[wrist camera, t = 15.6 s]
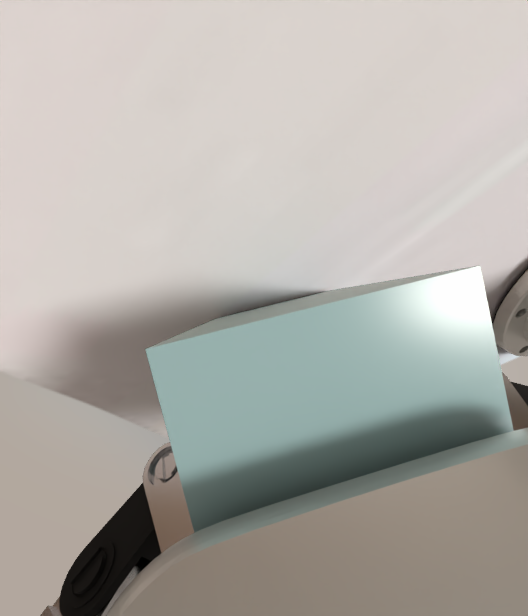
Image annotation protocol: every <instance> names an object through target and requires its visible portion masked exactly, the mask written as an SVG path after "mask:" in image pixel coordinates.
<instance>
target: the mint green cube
mask: <svg viewBox="0 0 528 616" xmlns="http://www.w3.org/2000/svg"><path fill="white" fill-rule="evenodd" d="M145 350H146V354H147V357H148V361H149V365H150V369H151V372H152V376H153V380H154V384H155V387H156V391H157V395H158V398H159V402H160V406H161V410H162V413H163V417H164V421H165V425H166V428H167V432H168V436H169V440H170V443H171V447H172V451H173V455H174V458H175V462H176V466H177V470H178V473H179V477H180V481H181V485H182V488H183V492H184V496H185V500H186V503H187V507H188V511H189V514H190V518H191V522H192V526H193V529H194V533H195V532H197V531H199V530H201V529H204V528H206V527H209V526H211V525H214V524H216V523H219V522H221V521H224V520H227V519H230V518H233V517H236V516H239V515H242V514H245V513H248V512H250V511H253V510H256V509H259V508H262V507H265V506H268V505H271V504H275V503H278V502H281V501H284V500H287V499H290V498H294V497H297V496H300V495H303V494H306V493H309V492H313V491H316V490H319V489H322V488H325V487H328V486H332V485H335V484H338V483H341V482H344V481H348V480H351V479H354V478H357V477H361V476H364V475H367V474H370V473H373V472H377V471H380V470H383V469H386V468H390V467H393V466H396V465H399V464H403V463H406V462H409V461H412V460H416V459H419V458H422V457H425V456H429V455H432V454H435V453H439V452H442V451H445V450H448V449H452V448H455V447H458V446H462V445H465V444H468V443H472V442H475V441H479V440H482V439H486V438H489V437H493V436H496V435H500V434H504V433H507V432H511V431H514V430H513V425H512V421H511V416H510V411H509V406H508V401H507V396H506V391H505V386H504V381H503V376H502V371H501V366H500V361H499V356H498V351H497V346H496V341H495V336H494V331H493V326H492V321H491V316H490V312H489V307H488V302H487V297H486V292H485V287H484V282H483V277H482V272H481V267H480V266H474V267H468V268H462V269H456V270H450V271H444V272H438V273H432V274H426V275H420V276H414V277H408V278H402V279H396V280H390V281H384V282H378V283H372V284H366V285H360V286H354V287H348V288H342V289H336V290H330V291H326V292H322V293H318V294H314V295H310V296H306V297H302V298H298V299H294V300H290V301H285V302H281V303H277V304H273V305H269V306H265V307H261V308H257V309H253V310H249V311H245V312H241V313H237V314H232V315H228V316H224V317H220V318H216V319H214V320H212V321H209V322H207V323H205V324H202V325H200V326H198V327H195V328H193V329H191V330H188V331H186V332H184V333H181V334H179V335H177V336H174V337H172V338H170V339H167V340H165V341H163V342H160V343H158V344H156V345H154V346H151V347H149V348H147V349H145Z"/></svg>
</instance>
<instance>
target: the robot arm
mask: <svg viewBox="0 0 528 616" xmlns="http://www.w3.org/2000/svg"><path fill="white" fill-rule="evenodd" d="M493 331H494V336H495V341H496V344H497V345H498V346H499V347H501V348H503V349H504V350H506V351H508V352H509V353H511V354H514V355H517V356H528V270H527V271H526V272H525V273H524V274H523V275H522V276H521V277H520V279H519V280H518V281H517V282H516V283H515V284H514V286H513V287H512V288H511V290H510V291H509V293H508V294H507V296H506V297H505V298H504V300H503V302H502V304H501V305H500V307H499V309H498V311H497V314H496V317H495V319H494V322H493ZM502 376H503V381H504V386H505V391H506V396H507V401H508V406H509V411H510V416H511V421H512V425H513V430H514V431H511V432H507V433H504V434H500V435H496V436H493V437H489V438H486V439H482V440H479V441H475V442H472V443H468V444H465V445H462V446H458V447H455V448H452V449H448V450H445V451H442V452H439V453H435V454H432V455H429V456H425V457H422V458H419V459H416V460H412V461H409V462H406V463H403V464H399V465H396V466H393V467H390V468H386V469H383V470H380V471H377V472H373V473H370V474H367V475H364V476H361V477H357V478H354V479H351V480H348V481H344V482H341V483H338V484H335V485H332V486H328V487H325V488H322V489H319V490H316V491H313V492H309V493H306V494H303V495H300V496H297V497H294V498H290V499H287V500H284V501H281V502H278V503H275V504H271V505H268V506H265V507H262V508H259V509H256V510H253V511H250V512H248V513H245V514H242V515H239V516H236V517H233V518H230V519H227V520H224V521H221V522H219V523H216V524H214V525H211V526H209V527H206V528H204V529H201V530H199V531H197V532H195V533H194V529H193V526H192V522H191V518H190V514H189V511H188V507H187V503H186V500H185V496H184V492H183V488H182V485H181V481H180V477H179V473H178V470H177V466H176V462H175V458H174V455H173V451H172V447H171V443H170V442H169V443H166V444H164V445H163V446H161V447H160V448H159V449H157V450H156V451H155V452H154V453H153V455H152V456H151V457H150V459H149V460H148V462H147V464H146V466H145V468H144V473H143V483H142V484H141V485H140V487H139V488H138V489H137V490H136V491H135V492H134V493H133V494H132V496H131V497H130V498H129V499H128V500H127V501H126V502H125V504H124V505H123V506H122V507H121V508H120V509H119V510H118V511H117V512H116V514H115V515H114V516H113V517H112V518H111V519H110V520H109V521H108V523H107V524H106V525H105V526H104V527H103V528H102V530H100V532H99V533H98V534H97V535H96V536H95V537H94V538H93V539H92V541H91V542H90V543H89V544H88V545H87V546H86V547H85V548H84V550H83V551H82V552H81V553H80V555H79V556H78V557H77V559H76V560H75V562H74V564H73V565H72V567H71V569H70V570H69V572H68V574H67V577H66V579H65V581H64V584H63V586H62V590H61V595H60V597H59V598H58V599H57V601H56V602H55V603H54V605H53V606H47V607H46V609H45V610H44V611H43V613H42V614H41V616H528V386H525V385H521V384H517V383H513V382H510V381H509V379H508V378H507V377H506V376H505V375H504V373H503V372H502Z"/></svg>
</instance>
